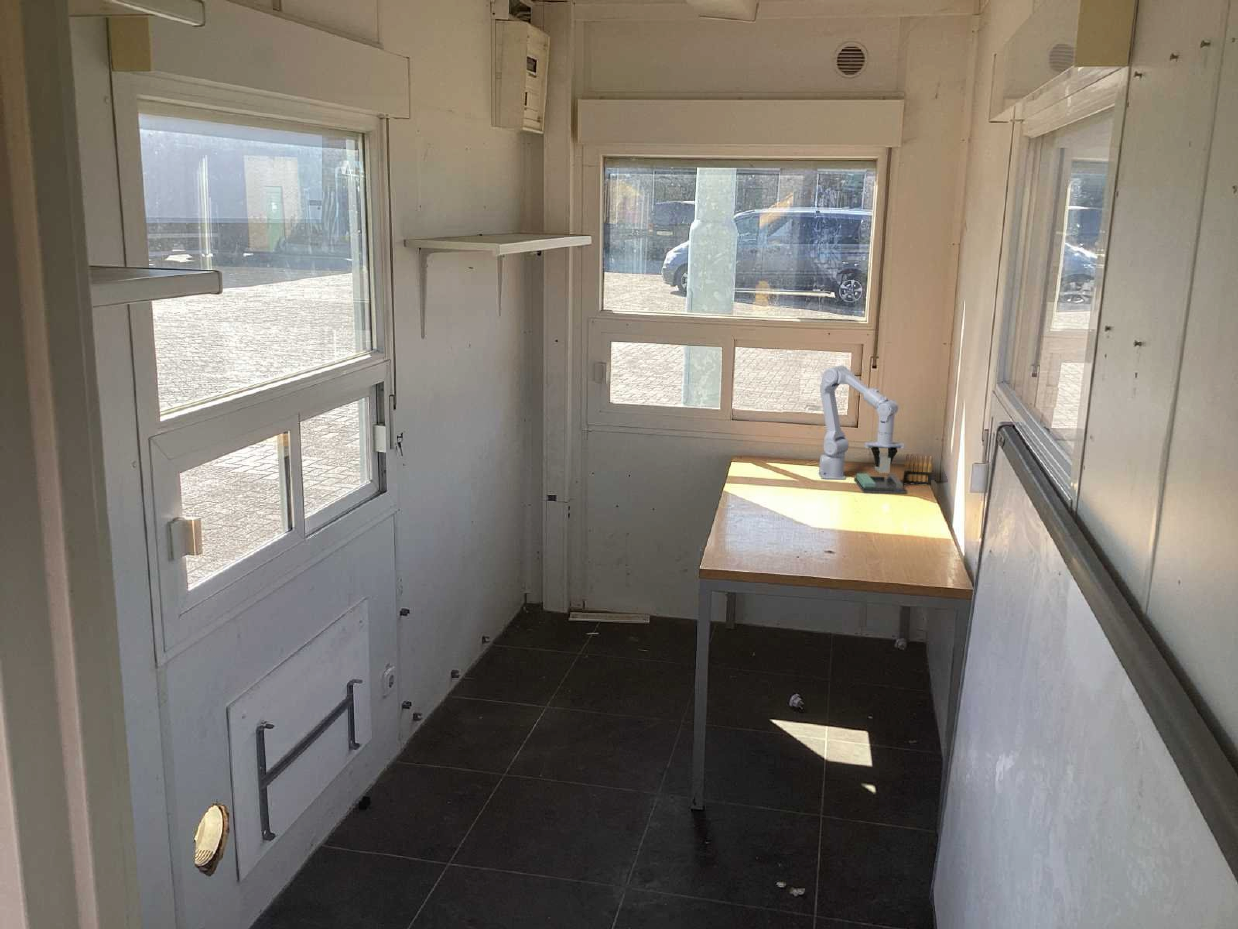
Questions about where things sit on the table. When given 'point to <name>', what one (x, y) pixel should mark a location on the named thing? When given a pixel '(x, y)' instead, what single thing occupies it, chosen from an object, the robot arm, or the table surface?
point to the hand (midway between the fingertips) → (882, 466)
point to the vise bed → (884, 485)
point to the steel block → (883, 463)
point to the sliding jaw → (865, 480)
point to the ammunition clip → (917, 470)
